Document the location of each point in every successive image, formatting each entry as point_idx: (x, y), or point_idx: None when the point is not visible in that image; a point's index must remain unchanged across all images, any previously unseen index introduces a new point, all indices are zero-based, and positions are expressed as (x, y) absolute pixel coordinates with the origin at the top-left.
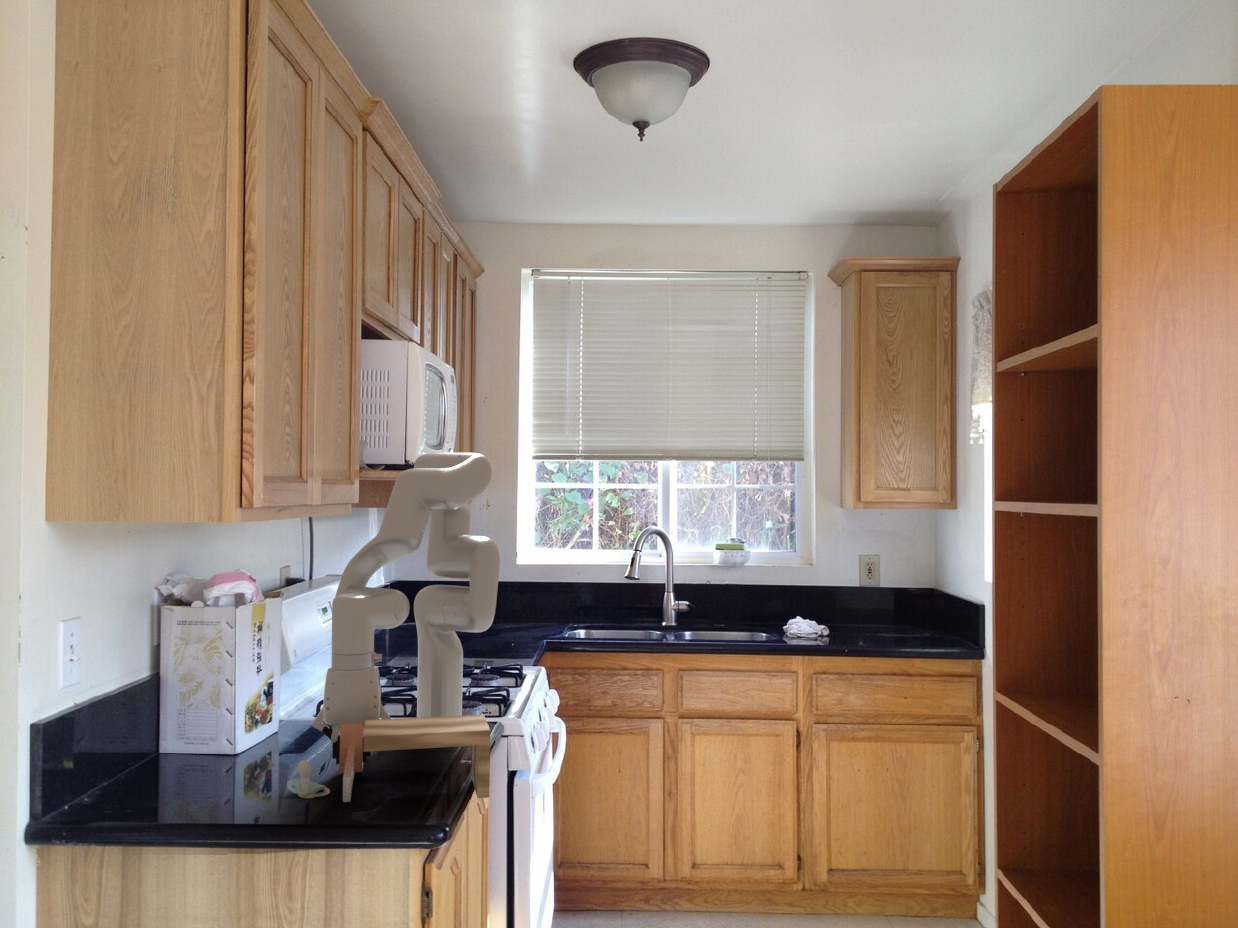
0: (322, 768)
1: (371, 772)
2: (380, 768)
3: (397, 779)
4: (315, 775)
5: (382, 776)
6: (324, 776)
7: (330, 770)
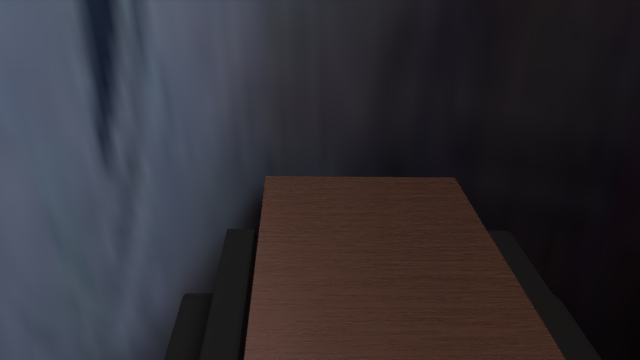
0: (96, 4)
1: (500, 192)
2: (584, 105)
3: (637, 356)
4: (78, 187)
5: (559, 289)
6: (154, 222)
7: (178, 79)
